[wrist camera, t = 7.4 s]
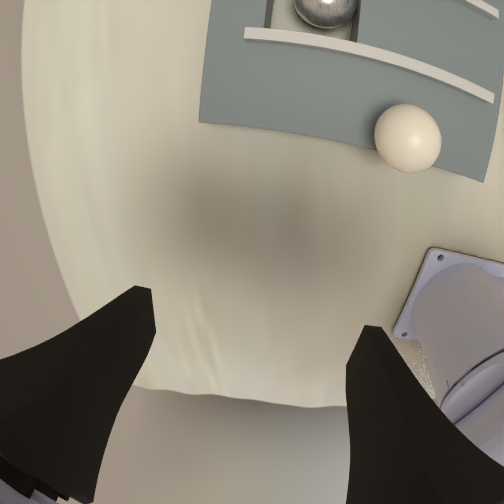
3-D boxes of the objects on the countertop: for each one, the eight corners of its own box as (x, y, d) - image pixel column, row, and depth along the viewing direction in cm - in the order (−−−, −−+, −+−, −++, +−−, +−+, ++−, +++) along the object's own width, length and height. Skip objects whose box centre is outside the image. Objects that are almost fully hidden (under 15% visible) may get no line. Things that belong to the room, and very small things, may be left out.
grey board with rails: (482, -26, 8) (505, -38, 5) (464, 171, 15) (489, 186, 13) (240, -85, 9) (229, -109, 6) (212, 118, 17) (194, 123, 14)
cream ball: (431, 113, 12) (459, 119, 9) (418, 171, 14) (442, 189, 11) (373, 95, 12) (391, 95, 10) (362, 156, 14) (376, 171, 11)
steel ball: (318, -11, 12) (368, -12, 10) (313, 34, 14) (363, 37, 12) (283, -30, 10) (338, -37, 8) (277, 19, 12) (332, 18, 10)
